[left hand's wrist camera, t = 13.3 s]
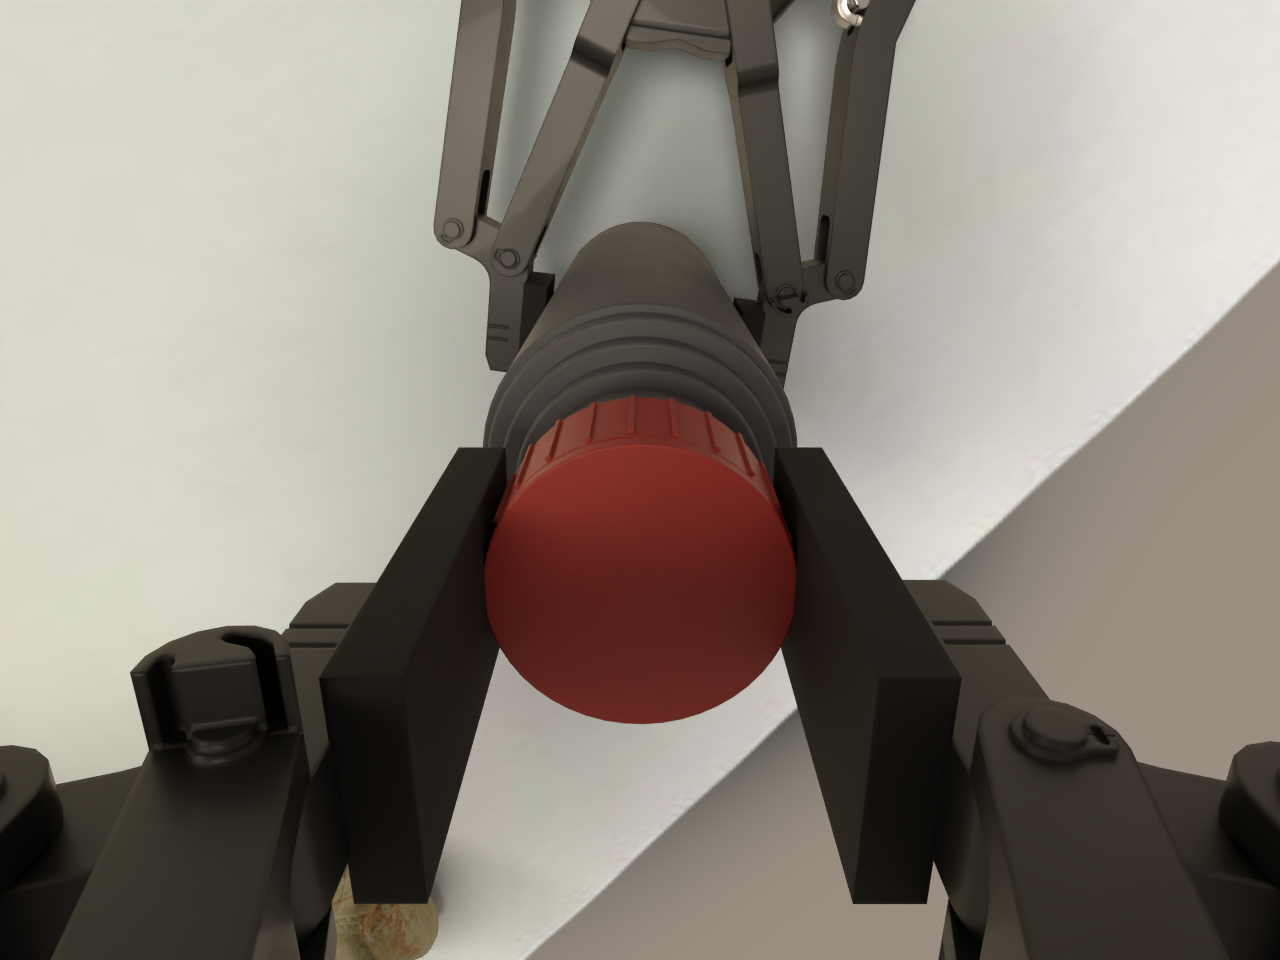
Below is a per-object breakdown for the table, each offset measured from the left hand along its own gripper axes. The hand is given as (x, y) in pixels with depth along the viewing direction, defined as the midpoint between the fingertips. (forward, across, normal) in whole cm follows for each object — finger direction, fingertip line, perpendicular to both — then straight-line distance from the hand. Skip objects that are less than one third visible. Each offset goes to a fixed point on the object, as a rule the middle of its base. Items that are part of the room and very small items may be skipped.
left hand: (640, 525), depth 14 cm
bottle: (+22, 0, 0) cm, 22 cm away
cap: (-2, 0, 0) cm, 2 cm away
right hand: (+16, -1, -5) cm, 17 cm away
